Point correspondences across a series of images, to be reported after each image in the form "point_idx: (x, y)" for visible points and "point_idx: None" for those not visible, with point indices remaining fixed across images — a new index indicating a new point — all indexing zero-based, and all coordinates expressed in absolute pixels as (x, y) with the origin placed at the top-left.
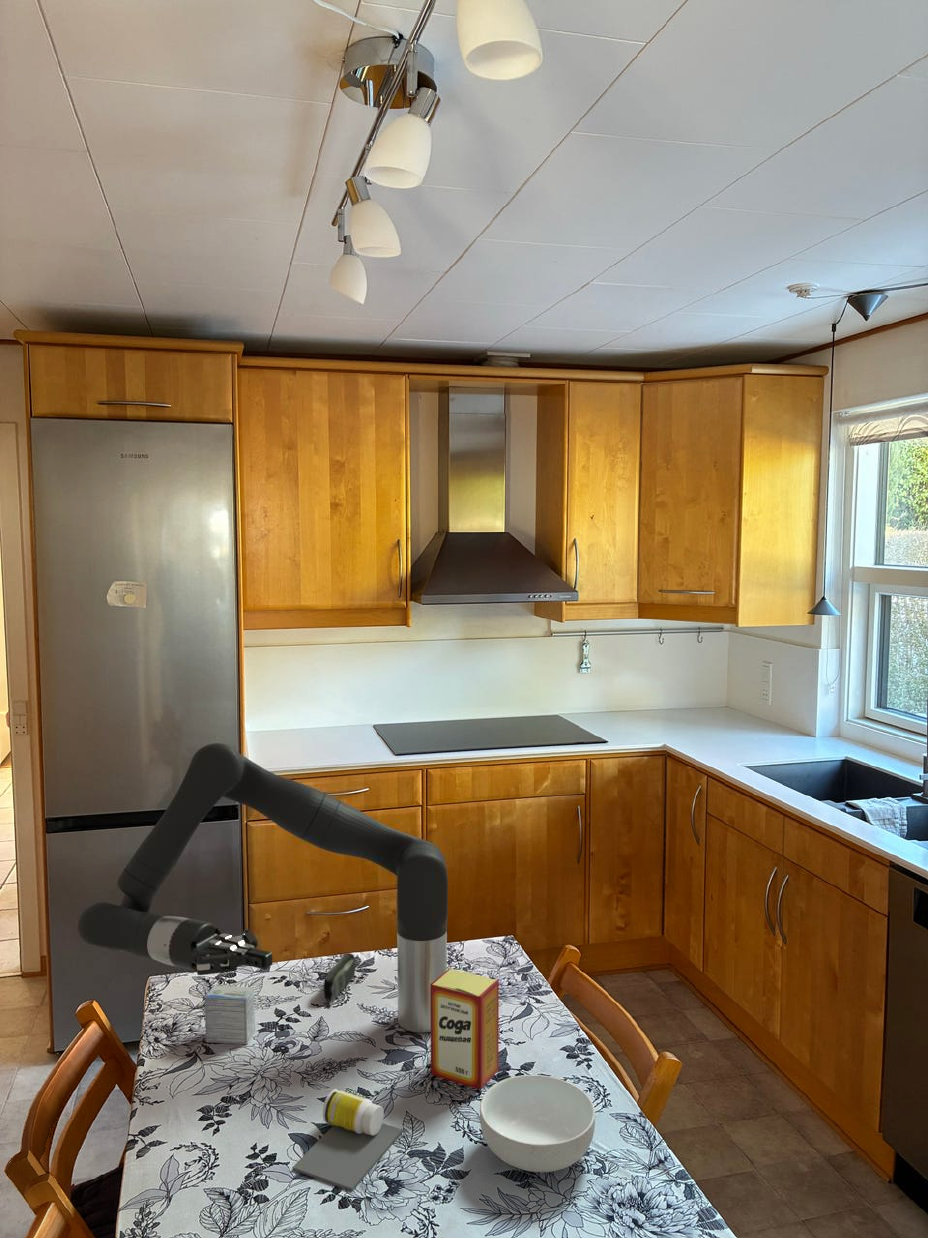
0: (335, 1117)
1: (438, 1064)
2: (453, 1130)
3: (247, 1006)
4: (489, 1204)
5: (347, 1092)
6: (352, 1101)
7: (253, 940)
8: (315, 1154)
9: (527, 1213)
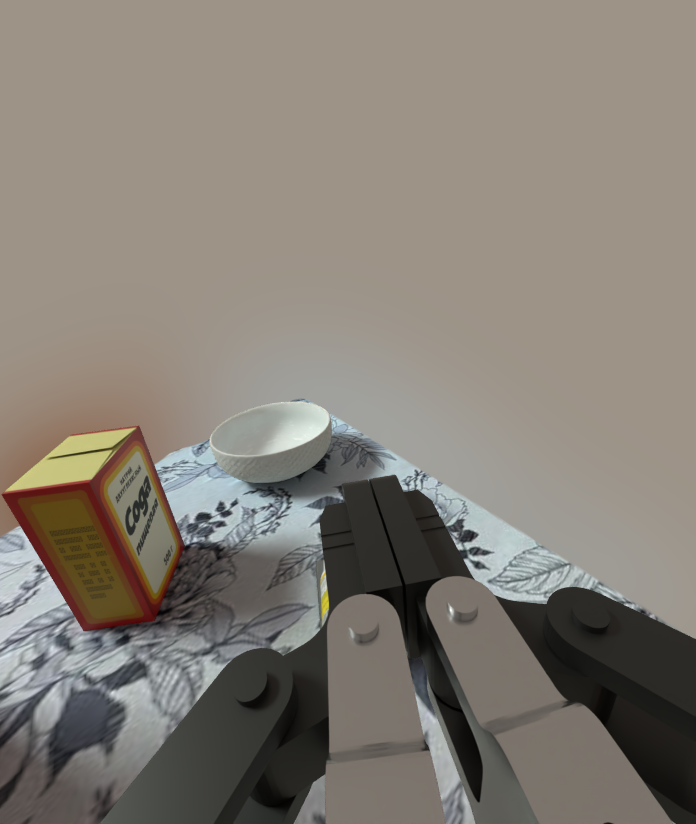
0: None
1: (152, 590)
2: (281, 526)
3: None
4: (364, 460)
5: None
6: None
7: (243, 695)
8: None
9: (355, 443)
